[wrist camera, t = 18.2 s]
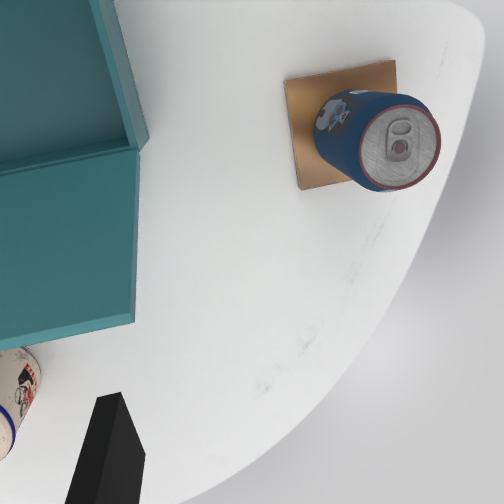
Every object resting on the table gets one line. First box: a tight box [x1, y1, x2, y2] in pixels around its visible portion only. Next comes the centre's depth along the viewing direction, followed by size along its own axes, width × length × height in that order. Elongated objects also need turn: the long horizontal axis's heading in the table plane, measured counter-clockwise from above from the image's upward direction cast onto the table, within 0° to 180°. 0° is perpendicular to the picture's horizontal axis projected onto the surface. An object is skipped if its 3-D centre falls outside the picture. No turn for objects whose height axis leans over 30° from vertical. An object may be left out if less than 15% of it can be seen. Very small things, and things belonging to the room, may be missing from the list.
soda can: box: [313, 89, 441, 192], centre depth 36 cm, size 7×7×12 cm
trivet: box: [284, 60, 397, 190], centre depth 42 cm, size 10×10×1 cm
